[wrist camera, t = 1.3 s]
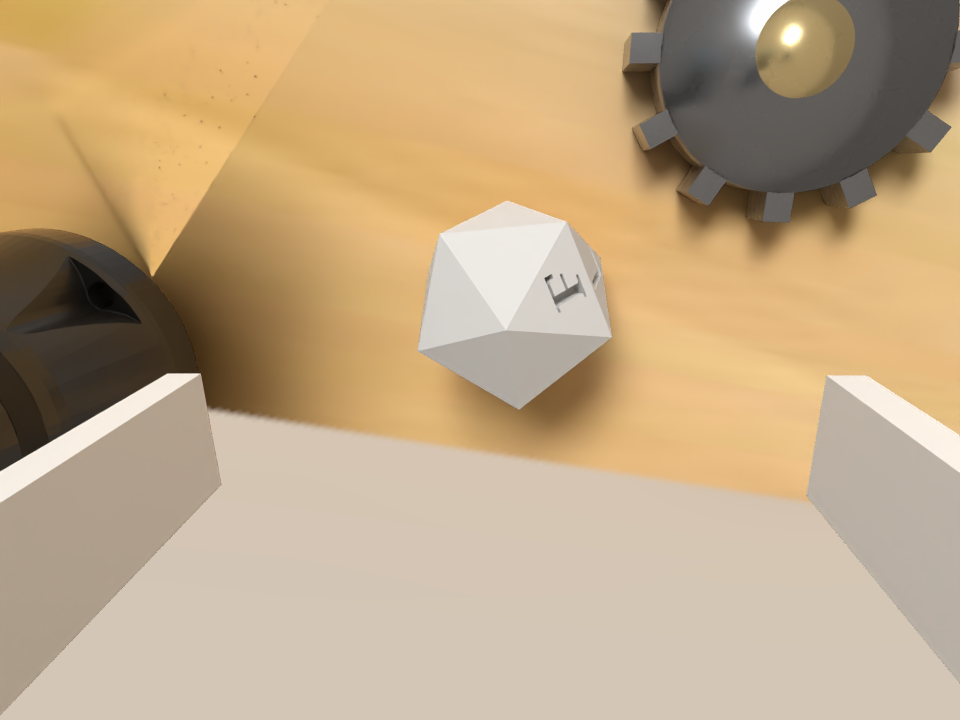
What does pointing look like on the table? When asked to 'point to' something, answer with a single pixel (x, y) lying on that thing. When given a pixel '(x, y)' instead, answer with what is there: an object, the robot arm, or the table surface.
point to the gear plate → (794, 92)
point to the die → (513, 302)
